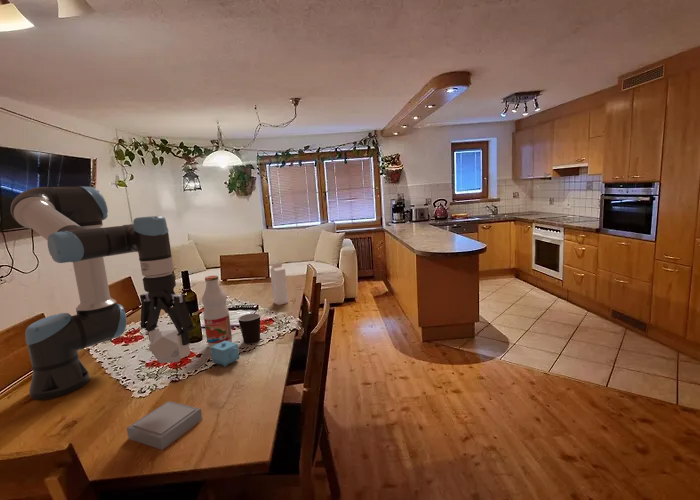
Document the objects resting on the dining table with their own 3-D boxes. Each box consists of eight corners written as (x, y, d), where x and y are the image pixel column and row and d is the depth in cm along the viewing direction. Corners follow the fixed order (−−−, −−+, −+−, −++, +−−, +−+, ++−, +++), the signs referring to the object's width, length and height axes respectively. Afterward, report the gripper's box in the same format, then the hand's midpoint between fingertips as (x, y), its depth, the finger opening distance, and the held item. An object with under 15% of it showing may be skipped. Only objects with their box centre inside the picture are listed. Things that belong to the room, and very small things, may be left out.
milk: (273, 303, 195) (269, 263, 191) (283, 300, 198) (279, 262, 195) (278, 305, 190) (274, 265, 187) (288, 302, 194) (284, 263, 190)
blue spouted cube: (246, 362, 125) (243, 342, 124) (231, 370, 120) (229, 349, 119) (224, 356, 131) (222, 336, 130) (210, 363, 126) (207, 343, 125)
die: (165, 373, 91) (186, 337, 93) (136, 356, 92) (158, 321, 94) (180, 369, 99) (199, 336, 101) (153, 354, 100) (173, 322, 102)
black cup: (259, 344, 140) (257, 320, 138) (238, 345, 140) (235, 321, 138) (266, 333, 151) (264, 310, 150) (246, 334, 151) (244, 311, 150)
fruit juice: (237, 340, 145) (229, 274, 141) (221, 350, 136) (212, 279, 132) (219, 338, 148) (210, 273, 144) (202, 348, 140) (192, 279, 136)
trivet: (128, 438, 87) (126, 426, 87) (170, 410, 98) (168, 400, 98) (162, 449, 83) (160, 437, 82) (202, 419, 93) (200, 407, 93)
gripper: (116, 277, 94) (130, 355, 98) (178, 278, 86) (190, 364, 89) (141, 271, 101) (154, 344, 105) (201, 271, 93) (212, 352, 96)
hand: (171, 354), depth 97 cm, fingers closed on die, 10 cm apart
